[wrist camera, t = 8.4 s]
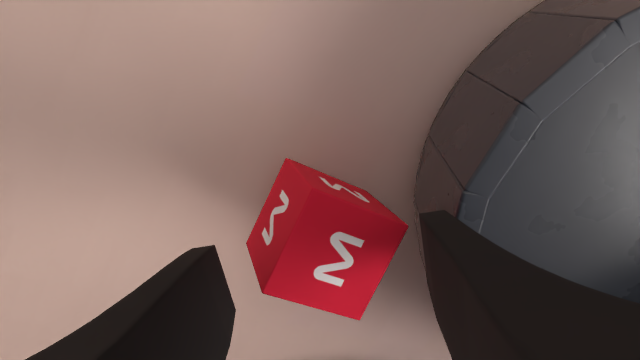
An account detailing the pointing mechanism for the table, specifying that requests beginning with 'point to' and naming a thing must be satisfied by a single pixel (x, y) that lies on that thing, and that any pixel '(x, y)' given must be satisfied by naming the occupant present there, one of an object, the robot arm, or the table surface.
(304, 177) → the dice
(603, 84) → the pot
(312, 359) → the table surface
